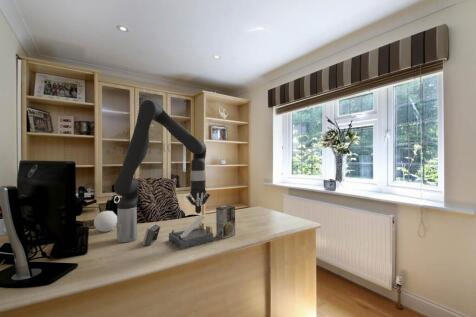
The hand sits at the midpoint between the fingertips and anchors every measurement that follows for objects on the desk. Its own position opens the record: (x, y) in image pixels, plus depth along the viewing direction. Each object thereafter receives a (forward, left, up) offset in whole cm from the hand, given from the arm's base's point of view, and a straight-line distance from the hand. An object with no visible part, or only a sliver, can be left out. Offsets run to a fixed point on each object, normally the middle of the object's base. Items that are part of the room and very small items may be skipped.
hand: (198, 213), depth 118 cm
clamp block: (-2, +5, -15) cm, 16 cm away
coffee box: (+17, 0, -15) cm, 23 cm away
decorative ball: (-35, +50, -15) cm, 63 cm away
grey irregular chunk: (-19, +15, -16) cm, 29 cm away
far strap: (-2, +9, -11) cm, 15 cm away
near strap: (-3, 0, -7) cm, 8 cm away
